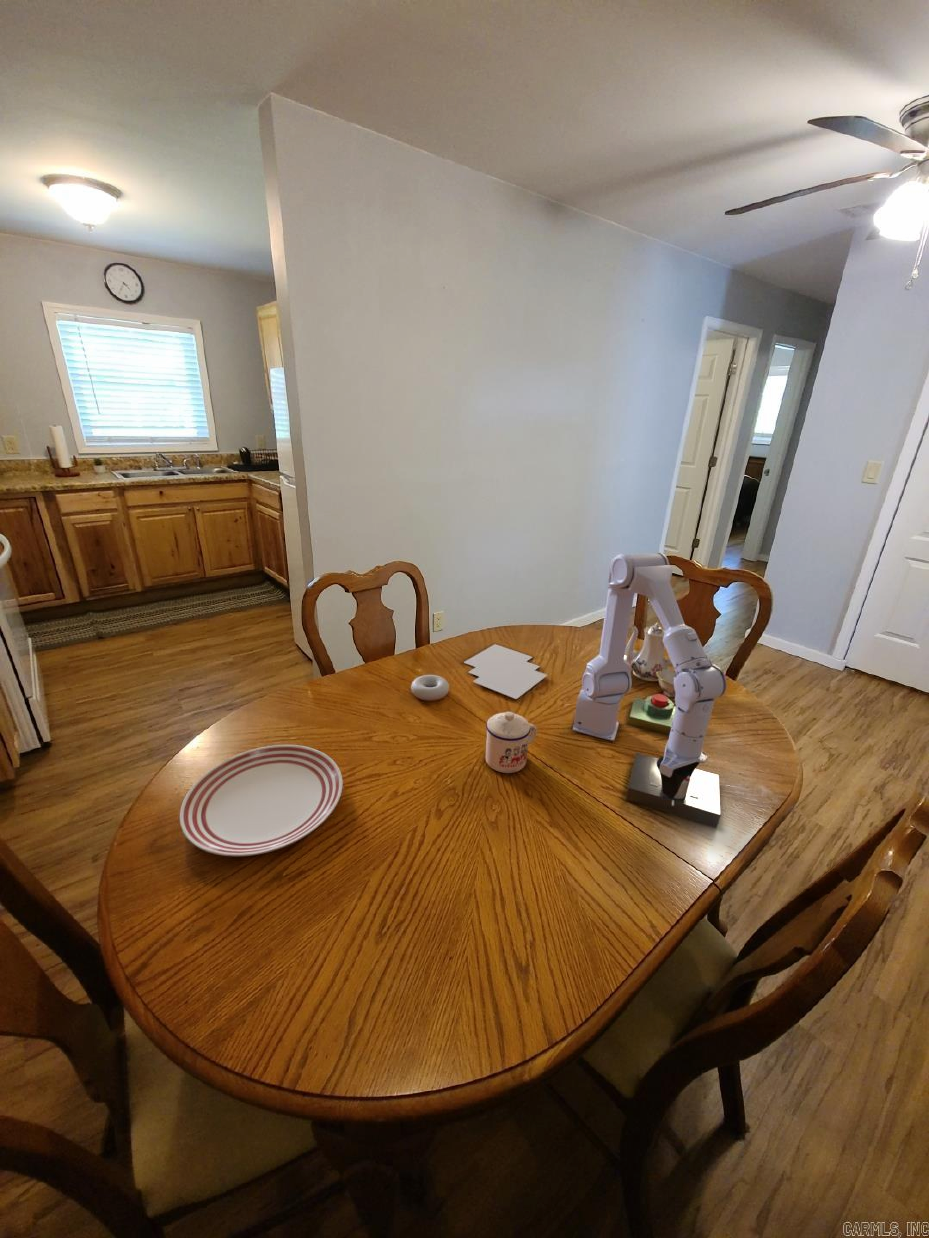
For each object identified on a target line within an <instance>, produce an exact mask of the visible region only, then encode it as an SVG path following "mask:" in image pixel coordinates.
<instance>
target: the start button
mask: <svg viewBox="0 0 929 1238" xmlns="http://www.w3.org/2000/svg"><path fill="white" fill-rule="evenodd" d="M668 699H669V697H668V696H667V695H665V694H661V693H654V694H653V698H652V704H654V705H656V706H660V707H666V706H667V704H668Z"/></svg>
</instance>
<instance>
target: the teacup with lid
mask: <svg viewBox="0 0 929 1238" xmlns="http://www.w3.org/2000/svg"><path fill="white" fill-rule="evenodd" d="M485 724H486V725H485V727H486V728H485V729H486V742H485V743H486V744H485V761H486V764H487V765H488V766H489V767H490V768H491V769H492V770H494V771H497V772H499V773H505V774H512V773H517V772H519V771H521V770H523V769H524V767H525V766H526V764H527V758H528V747H529V745H530V744H532V743H533V742H534V740H535V738H536V737H537V733H538V728H537V726H536V725H534V724H533V723H530V722H529V721H528V720H527V719H526V718H525V717H523V716H522V715H520V714H517V713H514V712H513V711H505V712H499V713H495V714H494V715H492V716H490V717H489V718H488V720H487V722H486V723H485Z"/></svg>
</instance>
